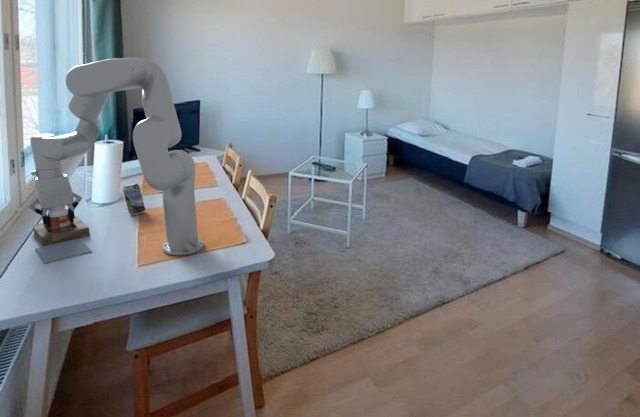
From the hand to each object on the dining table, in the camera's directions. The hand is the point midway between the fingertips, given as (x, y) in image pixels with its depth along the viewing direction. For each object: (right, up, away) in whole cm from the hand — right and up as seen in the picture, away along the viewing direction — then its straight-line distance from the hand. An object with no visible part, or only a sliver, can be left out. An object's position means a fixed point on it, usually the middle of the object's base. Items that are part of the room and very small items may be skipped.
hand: (59, 223), depth 153 cm
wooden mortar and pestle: (-2, -3, +3) cm, 5 cm away
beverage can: (+17, +3, +22) cm, 28 cm away
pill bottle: (0, -4, +2) cm, 4 cm away
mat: (+7, -8, -11) cm, 15 cm away
